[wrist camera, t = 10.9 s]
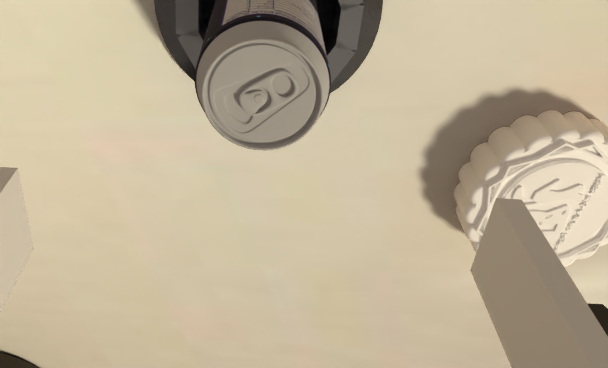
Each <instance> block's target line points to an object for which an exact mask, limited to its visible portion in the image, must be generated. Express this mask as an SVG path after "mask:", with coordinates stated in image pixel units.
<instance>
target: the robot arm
mask: <svg viewBox="0 0 608 368" xmlns="http://www.w3.org/2000/svg"><path fill="white" fill-rule="evenodd" d="M33 249H34V248H33V243H32V237H31V232H30V227H29V222H28V217H27V212H26V207H25V202H24V197H23V192H22V187H21V182H20V177H19V172H18V168H7V167H0V311H1V309H2V307H3V305H4V303H5V301H6V299H7V298H8V296H9V294H10V292H11V290H12V288H13V286H14V285H15V283H16V281H17V279H18V277H19V275H20V273H21V271H22V270H23V268H24V266H25V264H26V262H27V260H28V258H29V256H30V255H31V253H32V251H33ZM471 273H472V275H473V277H474V280H475V282H476V284H477V287H478V289H479V291H480V294H481V296H482V298H483V301H484V303H485V305H486V308H487V310H488V313H489V315H490V317H491V320H492V322H493V324H494V327H495V329H496V331H497V334H498V336H499V338H500V341H501V343H502V345H503V348H504V350H505V353H506V355H507V357H508V360H509V362H510V364H511V367H512V368H608V309H607V308H606V307H605V306H604V305H603V304H587V303H586V301H585V300H584V298H583V296H582V295H581V293H580V292H579V290H578V288H577V287H576V285H575V284H574V282H573V280H572V279H571V277H570V276H569V274H568V273H567V271H566V269H565V268H564V266H563V265H562V263H561V261H560V260H559V258H558V257H557V255H556V253H555V252H554V250H553V249H552V247H551V246H550V244H549V242H548V241H547V239H546V238H545V236H544V234H543V233H542V231H541V230H540V228H539V226H538V225H537V223H536V222H535V220H534V219H533V217H532V215H531V214H530V212H529V211H528V209H527V207H526V206H525V204H524V203H523V201H522V200H521V199H505V198H496V199H495V202H494V205H493V208H492V211H491V213H490V216H489V219H488V222H487V225H486V228H485V230H484V233H483V236H482V239H481V242H480V245H479V247H478V250H477V253H476V256H475V259H474V262H473V264H472V267H471ZM0 368H37V367H35V366H34V365H32V364H30V363H28V362H26V361H23V360H21V359H19V358H16V357H13V356H10V355H7V354H4V353H0Z"/></svg>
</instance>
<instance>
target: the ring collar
mask: <svg viewBox="0 0 608 368" xmlns="http://www.w3.org/2000/svg"><path fill="white" fill-rule="evenodd" d="M215 1H216V0H155V10H156V15H157V20H158V24H159V28H160V30H161V33H162V36H163V38H164V41H165V43H166V45H167V47H168V48H169V50H170V52H171V54H172V56H173V57H174V58H175V60H176V61H177V63H178V64H179V66H180V67H181V68H182V69H183V70H184V71H185V72H186V73H187V75H188V76H189V77H190V78H192V79H193V80H194V81H195V70H196V65H197V61H198V58H199V55H200V51H201V48H202V45H203V41H204V38H205V34H206V31H207V28H208V24H209V21H210V18H211V14H212V11H213V7H214V4H215ZM382 4H383V0H316V5H317V10H318V15H319V20H320V25H321V29H322V34H323V39H324V44H325V49H326V54H327V59H328V63H329V68H330V74H331V89H330V93H331V92H333V91H334V90H336V89H337V88H339V87H340V86H341V85H342V84H343V83H345V82H346V81H347V80H348V79H349V78H350V77H351V76H352V75H353V74H354V73H355V71H356V70H357V69H358V68H359V66H360V65H361V64H362V62H363V61H364V59H365V58H366V56H367V54H368V53H369V51H370V49H371V47H372V45H373V42H374V40H375V37H376V35H377V32H378V28H379V24H380V20H381V13H382Z"/></svg>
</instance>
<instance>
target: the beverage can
mask: <svg viewBox="0 0 608 368" xmlns="http://www.w3.org/2000/svg"><path fill="white" fill-rule="evenodd" d="M195 88H196V93H197V97H198V100H199V102H200V104H201V107H202V108H203V110H204V112H205V114H206V116H207V118H208V119H209V121H210V123H211V124H212V126H213V127H214V128H215V129H216V130H217V131H218V132H219V133H220V134H221V135H222V136H223V137H225V138H226V139H227V140H229V141H230V142H232V143H234V144H236V145H239V146H242V147H245V148H248V149H253V150H274V149H279V148H283V147H286V146H288V145H291V144H293V143H295V142H296V141H298V140H300V139H301V138H302V137H304V136H305V135H306V134H307V133H308V132H309V131H310V130H311V129H312V127H313V126H314V125H315V123H316V122H317V120H318V118H319V117H320V115H321V114H322V112H323V110H324V109H325V107H326V104H327V102H328V99H329V95H330V89H331V74H330V68H329V63H328V59H327V54H326V49H325V44H324V39H323V34H322V29H321V25H320V20H319V15H318V10H317V5H316V0H216V1H215V4H214V7H213V11H212V14H211V18H210V21H209V24H208V28H207V31H206V34H205V38H204V41H203V45H202V48H201V51H200V55H199V58H198V61H197V65H196V70H195Z"/></svg>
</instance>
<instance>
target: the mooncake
mask: <svg viewBox="0 0 608 368" xmlns="http://www.w3.org/2000/svg"><path fill="white" fill-rule="evenodd" d="M459 180H460V183H459V184H458V185H457V186H456V187H455V189H454V198H455V200H456V202H457V206H456V214H457V217H458V219H459V221H460V223H461V226H462V228H463V230H464V233H465V235H466V237H467V238H468V239H469V240H470V241H471V244H472V246H473V248H474V250H475V252H476V253H477V250H478V247H479V245H480V242H481V239H482V236H483V233H484V230H485V228H486V225H487V222H488V219H489V216H490V213H491V211H492V208H493V205H494V202H495V199H496V198H505V199H521V200H522V201H523V203H524V204H525V206H526V207H527V209H528V211H529V212H530V214H531V215H532V217H533V219H534V220H535V222H536V223H537V225H538V226H539V228H540V230H541V231H542V233H543V234H544V236H545V238H546V239H547V241H548V242H549V244H550V246H551V247H552V249H553V250H554V252H555V253H556V255H557V257H558V258H559V260H560V261H561V263H562V265H563V266H564V267H567V266H569V265H570V264H572V263H573V262H574V261H575V259H584V258H588V257H590V256H591V255H593V254H594V253H595V252H596V251H597V249H598V248H599V246H603V245H606V244H608V127H607V126H606V125H605V124H604V123H603V122H601V121H600V120H597V119H587V118H586V117H585V116H584V115H583V114H582V113H580V112H577V111H571V112H567V113H565V114H563V115H562V114H561V113H560V112H558V111H555V110H548V111H544V112H542V113H541V114H539V115H538V116H537V117H534V116H530V115H526V116H522V117H519V118H518V119H516V120H515V121H514V122H513V123H512V124H511V126H510V127H501V128H498V129H496V130H495V131H493V132H492V133H491V135H490V136H489V138H488V142H486V143H482V144H479V145H478V146H476V147H475V148H474V149H473V151H472V152H471V155H470V162H468V163H466V164H464V165H463V166H462V167H461V169H460V171H459Z"/></svg>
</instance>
